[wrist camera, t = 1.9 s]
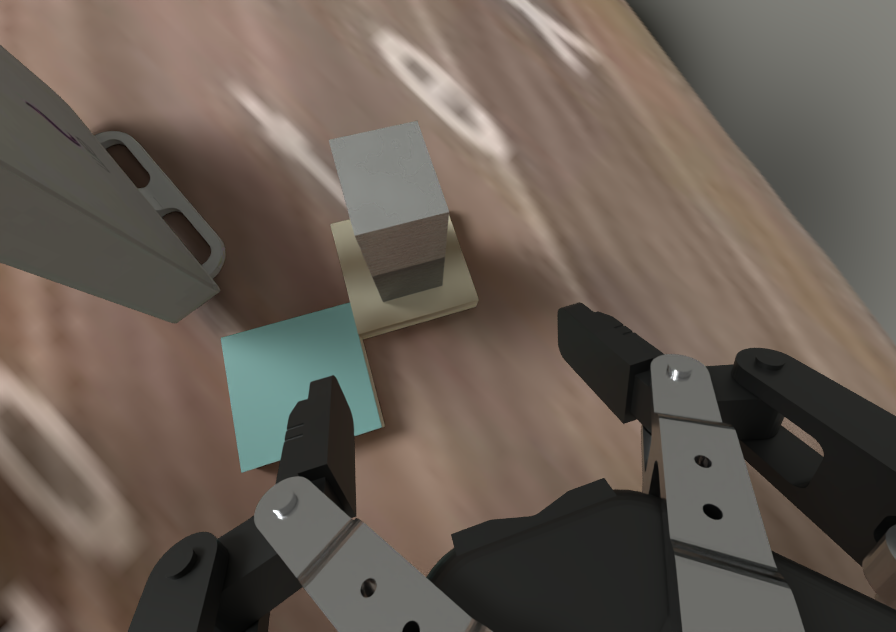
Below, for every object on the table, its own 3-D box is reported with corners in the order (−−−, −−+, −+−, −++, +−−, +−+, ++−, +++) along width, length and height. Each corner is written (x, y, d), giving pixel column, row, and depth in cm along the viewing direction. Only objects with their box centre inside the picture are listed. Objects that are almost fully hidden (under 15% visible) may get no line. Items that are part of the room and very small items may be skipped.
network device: (262, 287, 30) (-30, 67, 11) (170, 355, 28) (-373, 233, 9) (106, 104, 35) (-303, -286, 15) (17, 153, 33) (-577, -221, 13)
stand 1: (385, 426, 28) (381, 427, 26) (255, 468, 26) (241, 472, 25) (355, 309, 30) (349, 302, 28) (234, 342, 29) (220, 337, 27)
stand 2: (475, 306, 31) (478, 299, 29) (362, 339, 29) (358, 334, 28) (441, 209, 33) (442, 196, 31) (336, 235, 32) (330, 224, 30)
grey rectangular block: (442, 285, 29) (449, 211, 18) (382, 302, 28) (354, 235, 18) (421, 222, 30) (417, 120, 20) (364, 237, 30) (328, 140, 19)
